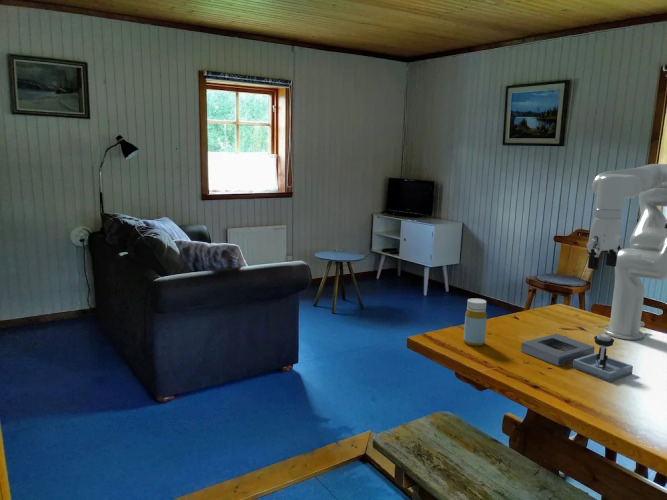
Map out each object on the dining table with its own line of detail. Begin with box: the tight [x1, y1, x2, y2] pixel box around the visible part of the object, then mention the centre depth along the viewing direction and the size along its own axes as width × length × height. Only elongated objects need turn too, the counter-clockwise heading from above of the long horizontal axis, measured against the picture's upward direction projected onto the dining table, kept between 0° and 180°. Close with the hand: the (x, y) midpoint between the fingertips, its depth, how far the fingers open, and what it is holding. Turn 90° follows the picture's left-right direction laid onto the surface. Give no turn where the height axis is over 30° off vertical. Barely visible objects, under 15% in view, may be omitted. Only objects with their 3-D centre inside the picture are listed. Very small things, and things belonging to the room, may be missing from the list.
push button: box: [593, 333, 615, 370], centre depth 156 cm, size 7×5×10 cm
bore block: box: [520, 333, 595, 367], centre depth 169 cm, size 18×14×3 cm
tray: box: [572, 352, 634, 383], centre depth 156 cm, size 12×12×2 cm
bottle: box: [463, 297, 488, 347], centre depth 176 cm, size 7×7×15 cm
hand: (601, 267), depth 168 cm, fingers open, 9 cm apart
